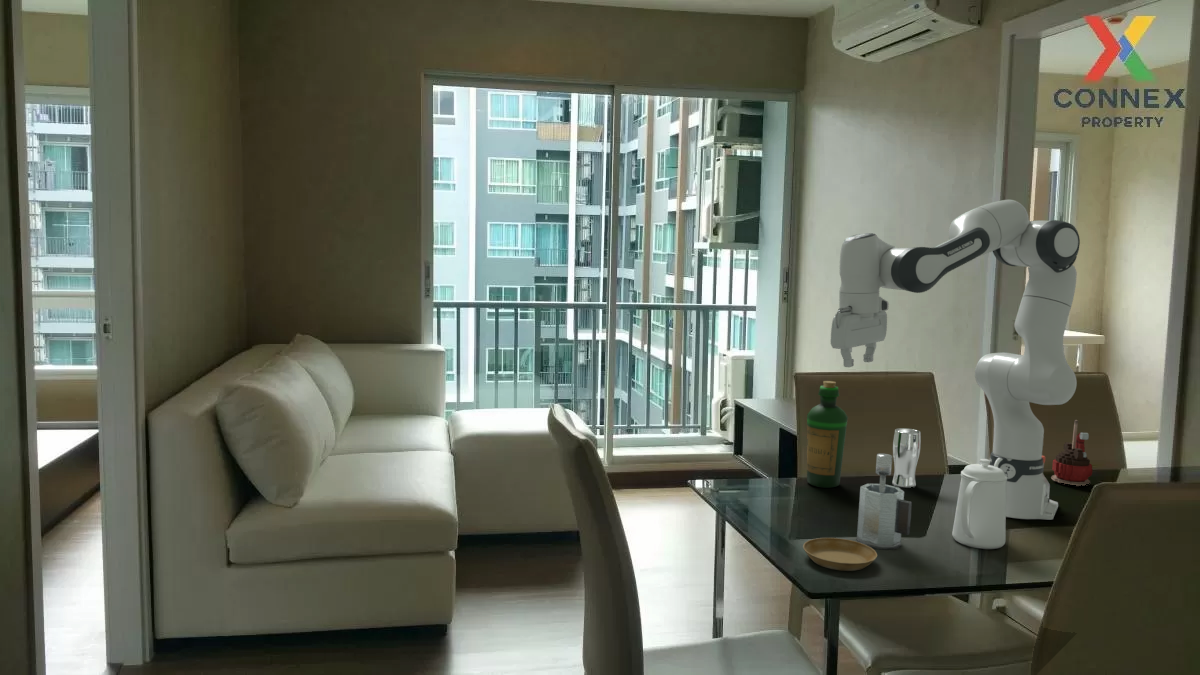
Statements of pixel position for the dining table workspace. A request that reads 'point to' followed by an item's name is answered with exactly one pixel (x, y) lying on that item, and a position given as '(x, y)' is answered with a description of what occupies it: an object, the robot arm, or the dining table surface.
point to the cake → (1073, 461)
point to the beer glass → (905, 456)
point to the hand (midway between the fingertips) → (858, 364)
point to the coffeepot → (981, 506)
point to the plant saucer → (839, 553)
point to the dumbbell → (883, 469)
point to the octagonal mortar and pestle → (883, 517)
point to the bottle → (825, 438)
